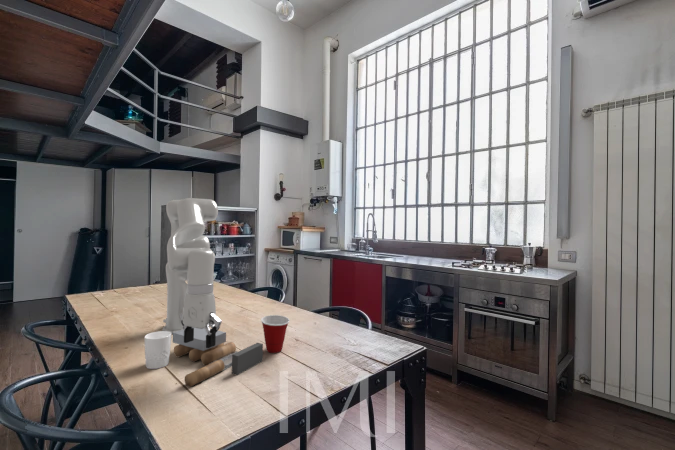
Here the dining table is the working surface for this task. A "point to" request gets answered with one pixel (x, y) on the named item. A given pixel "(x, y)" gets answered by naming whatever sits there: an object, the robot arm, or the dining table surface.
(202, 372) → the roller
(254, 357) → the block
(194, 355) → the roller bed
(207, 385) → the dining table surface
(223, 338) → the slab
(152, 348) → the white cup
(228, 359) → the grey flat plate
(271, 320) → the plastic cup
